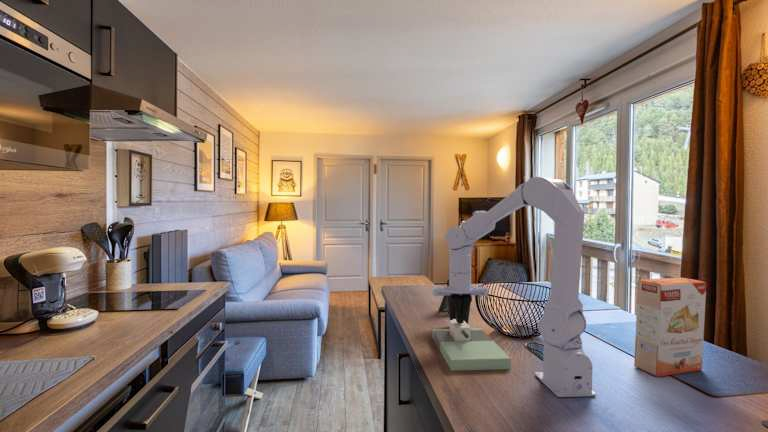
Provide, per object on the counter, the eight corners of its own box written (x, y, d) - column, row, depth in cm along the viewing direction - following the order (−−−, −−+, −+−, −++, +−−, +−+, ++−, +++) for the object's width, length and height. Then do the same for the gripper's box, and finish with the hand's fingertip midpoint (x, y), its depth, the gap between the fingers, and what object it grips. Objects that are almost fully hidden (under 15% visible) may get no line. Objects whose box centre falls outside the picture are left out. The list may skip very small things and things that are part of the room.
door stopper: (438, 310, 125) (438, 277, 125) (445, 307, 130) (445, 275, 130) (462, 315, 120) (463, 280, 120) (468, 311, 125) (468, 277, 125)
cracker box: (659, 379, 76) (662, 284, 76) (632, 366, 82) (635, 278, 81) (705, 371, 80) (708, 281, 79) (676, 360, 86) (679, 276, 85)
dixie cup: (456, 321, 114) (457, 288, 113) (477, 328, 107) (477, 292, 107) (440, 326, 108) (441, 291, 108) (461, 334, 102) (461, 296, 102)
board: (510, 369, 80) (510, 358, 80) (451, 370, 79) (451, 359, 79) (480, 336, 100) (480, 328, 100) (432, 337, 99) (432, 328, 99)
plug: (474, 356, 87) (474, 332, 87) (458, 356, 87) (459, 332, 87) (462, 340, 98) (462, 318, 98) (448, 340, 97) (448, 319, 97)
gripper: (481, 268, 98) (480, 316, 98) (430, 269, 97) (430, 317, 97) (490, 273, 91) (490, 325, 91) (436, 274, 90) (435, 326, 90)
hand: (459, 322), depth 93 cm, fingers closed
